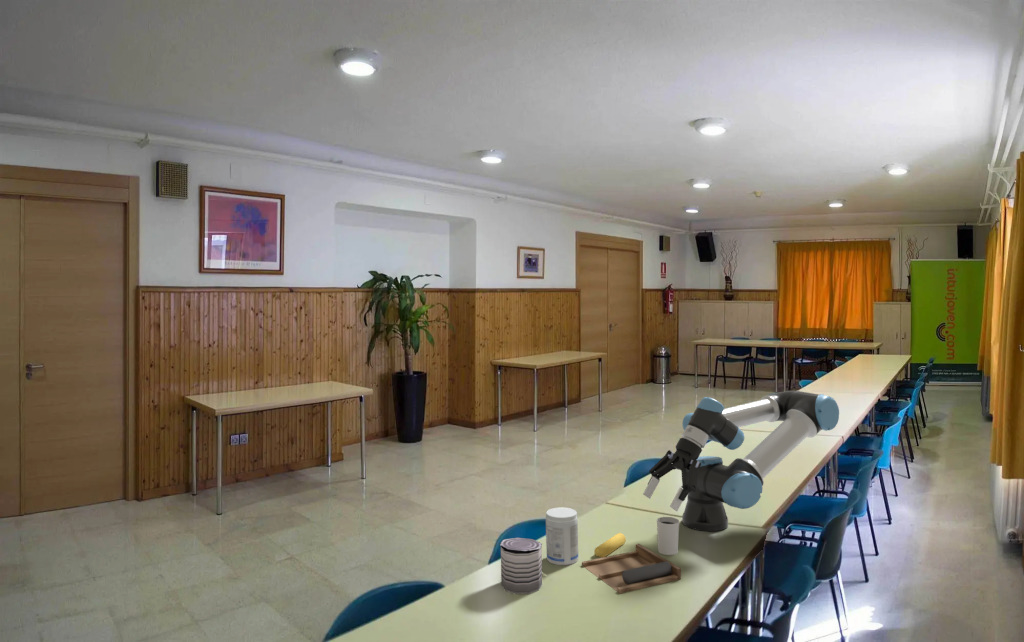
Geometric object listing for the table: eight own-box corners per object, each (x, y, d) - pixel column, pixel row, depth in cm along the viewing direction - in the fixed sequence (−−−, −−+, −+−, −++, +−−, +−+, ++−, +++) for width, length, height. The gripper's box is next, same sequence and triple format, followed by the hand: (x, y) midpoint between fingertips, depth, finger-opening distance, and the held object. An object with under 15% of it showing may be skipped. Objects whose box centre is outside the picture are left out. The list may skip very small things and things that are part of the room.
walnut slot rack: (638, 554, 198) (638, 543, 198) (680, 580, 180) (680, 568, 180) (581, 566, 190) (581, 555, 190) (619, 594, 172) (619, 582, 172)
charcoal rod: (663, 571, 185) (663, 559, 185) (671, 576, 181) (671, 564, 181) (622, 581, 179) (622, 568, 179) (629, 586, 176) (629, 573, 176)
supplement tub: (570, 552, 201) (569, 505, 201) (583, 563, 192) (583, 514, 192) (541, 556, 198) (540, 509, 197) (553, 569, 189) (553, 519, 188)
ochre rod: (615, 543, 209) (615, 532, 209) (626, 545, 206) (625, 534, 206) (594, 557, 197) (594, 546, 197) (605, 560, 195) (604, 548, 195)
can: (492, 583, 180) (492, 541, 179) (525, 572, 187) (524, 531, 186) (518, 598, 171) (517, 553, 170) (551, 586, 178) (550, 543, 177)
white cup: (679, 557, 196) (679, 524, 195) (657, 556, 197) (657, 523, 197) (678, 549, 202) (678, 517, 202) (656, 547, 204) (656, 516, 203)
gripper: (659, 429, 214) (628, 486, 210) (711, 445, 192) (677, 508, 187) (674, 441, 217) (643, 497, 213) (727, 457, 194) (694, 520, 190)
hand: (659, 502), depth 200 cm, fingers open, 13 cm apart
